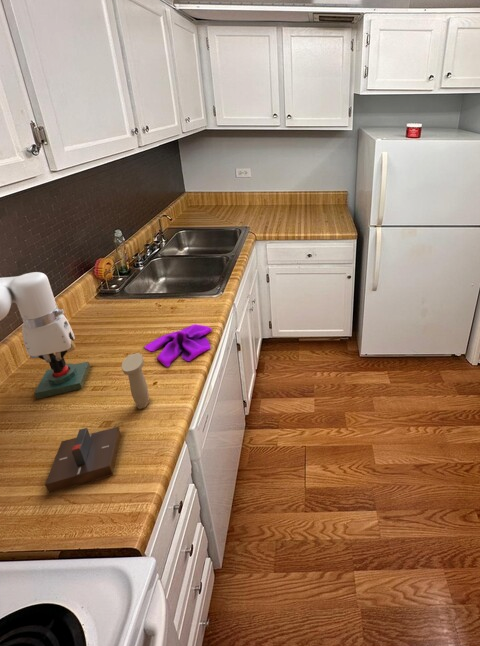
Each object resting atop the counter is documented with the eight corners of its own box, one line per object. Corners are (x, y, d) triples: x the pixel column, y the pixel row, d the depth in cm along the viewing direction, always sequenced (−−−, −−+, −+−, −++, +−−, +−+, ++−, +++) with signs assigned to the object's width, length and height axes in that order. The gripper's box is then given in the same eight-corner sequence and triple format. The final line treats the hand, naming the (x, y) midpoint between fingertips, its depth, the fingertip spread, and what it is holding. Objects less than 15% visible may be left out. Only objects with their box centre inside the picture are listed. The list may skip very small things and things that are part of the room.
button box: (36, 399, 93) (31, 388, 91) (48, 375, 100) (44, 365, 99) (81, 388, 96) (78, 378, 94) (90, 366, 104) (87, 356, 102)
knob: (84, 443, 78) (78, 428, 76) (92, 440, 78) (87, 426, 76) (76, 465, 73) (71, 451, 71) (85, 463, 73) (79, 448, 72)
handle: (132, 416, 88) (120, 373, 82) (134, 397, 93) (123, 355, 88) (152, 411, 89) (141, 368, 84) (153, 392, 95) (143, 351, 89)
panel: (48, 493, 70) (44, 484, 69) (65, 450, 79) (61, 440, 78) (112, 474, 74) (109, 465, 73) (121, 434, 83) (118, 425, 82)
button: (52, 379, 95) (50, 375, 94) (56, 370, 98) (55, 366, 97) (67, 376, 96) (65, 372, 95) (71, 367, 99) (69, 363, 98)
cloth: (211, 322, 125) (209, 308, 123) (216, 355, 109) (214, 340, 106) (145, 336, 117) (142, 322, 115) (140, 374, 101) (137, 358, 99)
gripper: (77, 304, 95) (92, 354, 102) (14, 313, 91) (34, 366, 97) (69, 319, 89) (85, 372, 95) (0, 330, 84) (22, 385, 91)
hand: (59, 369), depth 96 cm, fingers closed
